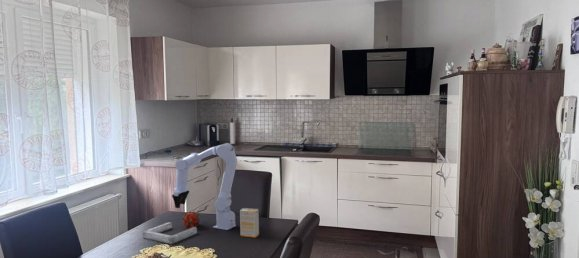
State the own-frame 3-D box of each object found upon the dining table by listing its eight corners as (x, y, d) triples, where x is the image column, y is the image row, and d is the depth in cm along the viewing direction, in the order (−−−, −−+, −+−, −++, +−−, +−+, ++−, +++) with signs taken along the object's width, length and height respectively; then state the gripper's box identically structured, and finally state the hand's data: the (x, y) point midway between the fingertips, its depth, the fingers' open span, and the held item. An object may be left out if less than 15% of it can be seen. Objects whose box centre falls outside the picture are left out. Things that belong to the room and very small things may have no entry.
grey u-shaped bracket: (196, 233, 193) (196, 227, 193) (171, 244, 178) (171, 237, 178) (169, 227, 202) (168, 222, 202) (142, 237, 187) (142, 231, 187)
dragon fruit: (194, 225, 210) (191, 236, 199) (180, 217, 208) (177, 227, 197) (203, 213, 209) (201, 223, 198) (189, 205, 207) (187, 214, 196)
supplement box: (259, 234, 190) (259, 208, 189) (255, 238, 186) (255, 211, 185) (244, 233, 193) (243, 207, 192) (239, 236, 188) (239, 210, 188)
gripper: (179, 177, 214) (177, 201, 215) (169, 183, 199) (167, 208, 200) (191, 178, 213) (190, 202, 214) (182, 184, 199) (180, 210, 200)
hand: (180, 205), depth 207 cm, fingers open, 7 cm apart
